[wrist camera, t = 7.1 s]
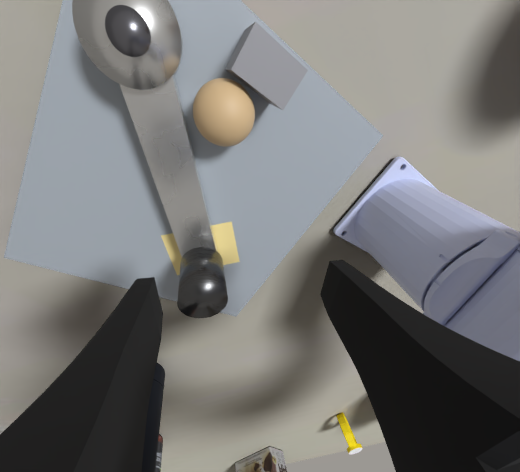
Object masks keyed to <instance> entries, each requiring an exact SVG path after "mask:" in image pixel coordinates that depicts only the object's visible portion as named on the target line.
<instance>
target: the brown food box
mask: <svg viewBox="0 0 520 472" xmlns="http://www.w3.org/2000/svg"><path fill="white" fill-rule="evenodd" d="M235 468H236V472H287V469H286V464H285V459H284V455H283V451H281V450H278V449H275V448H273V447H268V448H266V449H263V450H261V451H259V452H257V453H255V454H253V455H251V456H249V457H246V458H244V459H242V460H240V461H238V462H236V463H235Z"/></svg>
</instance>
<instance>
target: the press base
mask: <svg viewBox="0 0 520 472" xmlns="http://www.w3.org/2000/svg"><path fill="white" fill-rule="evenodd" d="M72 1H73V0H63V2H62V6H61V11H60V15H59V20H58V24H57V28H56V33H55V37H54V41H53V46H52V50H51V54H50V59H49V63H48V68H47V72H46V76H45V81H44V85H43V89H42V94H41V98H40V102H39V107H38V111H37V116H36V120H35V124H34V129H33V133H32V137H31V142H30V146H29V150H28V155H27V159H26V164H25V168H24V172H23V177H22V181H21V185H20V190H19V194H18V198H17V203H16V207H15V212H14V216H13V220H12V225H11V229H10V233H9V238H8V242H7V246H6V251H5V255H4V258H7V259H11V260H15V261H19V262H23V263H27V264H31V265H35V266H39V267H43V268H47V269H51V270H55V271H58V272H62V273H66V274H70V275H74V276H78V277H82V278H86V279H90V280H94V281H98V282H102V283H106V284H110V285H114V286H118V287H122V288H126V289H130V287H131V286H132V284H133V283H134V281H135V280H136V279H139V278H150V277H154V278H155V282H156V286H157V290H158V295H159V297H161V298H165V299H169V300H173V301H178V288H179V276H180V263H181V259H182V256H181V254H180V251H179V248H178V245H177V242H176V240H175V237H174V234H173V231H172V229H171V226H170V223H169V220H168V218H167V215H166V212H165V209H164V206H163V204H162V201H161V198H160V195H159V193H158V190H157V187H156V184H155V182H154V179H153V176H152V173H151V170H150V168H149V165H148V162H147V159H146V157H145V154H144V151H143V148H142V146H141V143H140V140H139V137H138V134H137V132H136V129H135V126H134V123H133V121H132V118H131V115H130V112H129V110H128V107H127V104H126V101H125V98H124V96H123V93H122V90H121V87H120V85H119V83H117V82H115V81H113V80H112V79H110V78H109V77H107V76H106V75H105V74H104V73H102V72H101V71H100V70H99V69H98V68H97V67H96V65H95V64H94V63H93V62H92V61H91V59H90V58H89V57H88V55H87V54H86V52H85V50H84V49H83V47H82V45H81V43H80V41H79V38H78V36H77V33H76V30H75V26H74V22H73V15H72ZM168 1H169V3H170V4H171V7H172V9H173V11H174V13H175V15H176V18H177V20H178V23H179V26H180V29H181V33H182V39H183V55H182V60H181V63H180V66H179V68H178V70H177V72H176V73H175V75H174V76H175V80H176V84H177V88H178V92H179V96H180V100H181V104H182V108H183V112H184V116H185V120H186V124H187V128H188V132H189V136H190V140H191V145H192V149H193V153H194V157H195V161H196V165H197V169H198V173H199V177H200V181H201V185H202V189H203V193H204V197H205V201H206V205H207V210H208V214H209V218H210V222H211V226H212V230H213V234H214V238H215V242H216V246H217V250H218V253H219V254H220V255H221V257H222V259H223V266H224V273H225V280H226V288H227V295H228V302H227V305H226V307H225V308H224V309H223V310H222V311H221V312H220V313H224V314H228V315H232V316H237V315H238V314H239V312H240V311H241V310H242V309H243V307H244V306H245V305H246V304H247V303H248V301H249V300H250V299H251V298H252V296H253V295H254V294H255V293H256V291H257V290H258V289H259V288H260V287H261V285H262V284H263V283H264V282H265V280H266V279H267V278H268V277H269V275H270V274H271V273H272V272H273V271H274V269H275V268H276V267H277V266H278V264H279V263H280V262H281V261H282V260H283V258H284V257H285V256H286V255H287V253H288V252H289V251H290V250H291V248H292V247H293V246H294V245H295V244H296V242H297V241H298V240H299V239H300V237H301V236H302V235H303V234H304V232H305V231H306V230H307V229H308V228H309V226H310V225H311V224H312V223H313V221H314V220H315V219H316V218H317V217H318V215H319V214H320V213H321V212H322V210H323V209H324V208H325V207H326V205H327V204H328V203H329V202H330V201H331V199H332V198H333V197H334V196H335V194H336V193H337V192H338V191H339V190H340V188H341V187H342V186H343V185H344V183H345V182H346V181H347V180H348V178H349V177H350V176H351V175H352V174H353V172H354V171H355V170H356V169H357V167H358V166H359V165H360V164H361V162H362V161H363V160H364V159H365V158H366V156H367V155H368V154H369V153H370V151H371V150H372V149H373V148H374V147H375V145H376V144H377V143H378V142H379V140H380V139H381V138H382V137H383V135H382V134H381V133H380V132H379V131H378V130H377V129H376V128H375V127H374V126H373V125H372V124H370V123H369V122H368V121H367V120H366V119H365V118H364V117H363V116H362V115H361V114H360V113H359V112H358V111H357V110H356V109H355V108H354V107H353V106H351V105H350V104H349V103H348V102H347V101H346V100H345V99H344V98H343V97H342V96H341V95H340V94H339V93H338V92H337V91H336V90H335V89H334V88H332V87H331V86H330V85H329V84H328V83H327V82H326V81H325V80H324V79H323V78H322V77H321V76H320V75H319V74H318V73H317V72H316V71H315V70H313V69H312V68H311V67H310V66H309V65H308V64H307V63H306V62H305V61H304V60H303V59H302V58H301V57H300V56H299V55H298V54H297V53H296V52H295V51H293V50H292V49H291V48H290V47H289V46H288V45H287V44H286V43H285V42H284V41H283V40H282V39H281V38H280V37H279V36H278V35H277V34H276V33H274V32H273V31H272V30H271V29H270V28H269V27H268V26H267V25H266V24H265V23H264V22H263V21H262V20H261V19H260V18H259V17H258V16H257V15H255V14H254V13H253V12H252V11H251V10H250V9H249V8H248V7H247V6H246V5H245V4H244V3H243V2H242V1H241V0H168Z"/></svg>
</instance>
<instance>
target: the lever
mask: <svg viewBox="0 0 520 472" xmlns="http://www.w3.org/2000/svg"><path fill="white" fill-rule="evenodd" d="M72 15H73V22H74V26H75V30H76V33H77V36H78V38H79V41H80V43H81V45H82V47H83V49H84V50H85V52H86V54H87V55H88V57H89V58H90V59H91V61H92V62H93V63H94V64H95V65H96V67H97V68H98V69H99V70H100V71H101V72H102V73H104V74H105V75H106V76H107V77H109V78H110V79H112V80H113V81H115V82H117V83H119V85H120V87H121V90H122V93H123V96H124V98H125V101H126V104H127V107H128V110H129V112H130V115H131V118H132V121H133V123H134V126H135V129H136V132H137V134H138V137H139V140H140V143H141V146H142V148H143V151H144V154H145V157H146V159H147V162H148V165H149V168H150V170H151V173H152V176H153V179H154V182H155V184H156V187H157V190H158V193H159V195H160V198H161V201H162V204H163V206H164V209H165V212H166V215H167V218H168V220H169V223H170V226H171V229H172V231H173V234H174V237H175V240H176V242H177V245H178V248H179V251H180V254H181V256H182V259H181V263H180V276H179V288H178V301H177V304H178V308H179V310H180V311H181V312H182V313H184V314H185V315H187V316H190V317H194V318H206V317H211V316H213V315H216V314H218V313H219V312H221V311H222V310H223V309H224V308H225V307H226V305H227V302H228V295H227V288H226V280H225V273H224V266H223V259H222V257H221V255H220V254H219V253H218V250H217V246H216V242H215V238H214V234H213V230H212V226H211V222H210V218H209V214H208V210H207V205H206V201H205V197H204V193H203V189H202V185H201V181H200V177H199V173H198V169H197V165H196V161H195V157H194V153H193V149H192V145H191V140H190V136H189V132H188V128H187V124H186V120H185V116H184V112H183V108H182V104H181V100H180V96H179V92H178V88H177V84H176V80H175V76H174V75H175V73H176V72H177V70H178V68H179V66H180V63H181V60H182V55H183V39H182V33H181V29H180V26H179V23H178V20H177V18H176V15H175V13H174V11H173V9H172V7H171V4H170V3H169V1H168V0H73V1H72Z"/></svg>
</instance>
